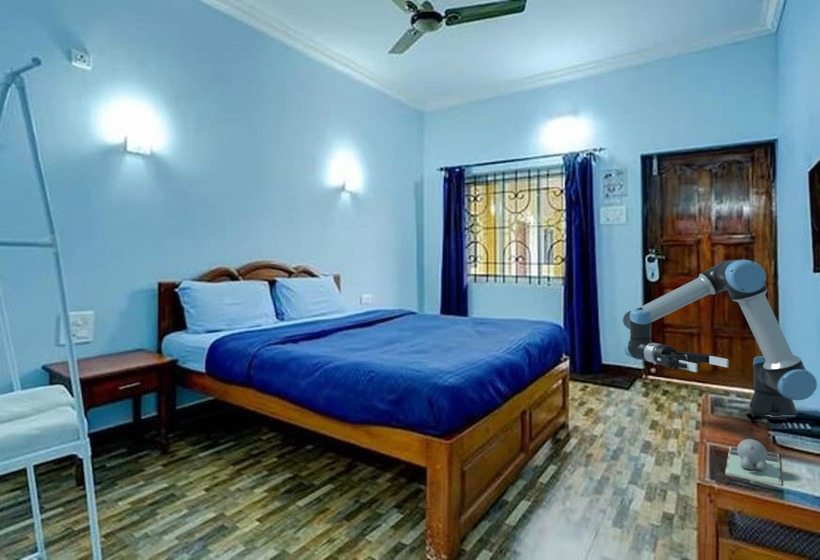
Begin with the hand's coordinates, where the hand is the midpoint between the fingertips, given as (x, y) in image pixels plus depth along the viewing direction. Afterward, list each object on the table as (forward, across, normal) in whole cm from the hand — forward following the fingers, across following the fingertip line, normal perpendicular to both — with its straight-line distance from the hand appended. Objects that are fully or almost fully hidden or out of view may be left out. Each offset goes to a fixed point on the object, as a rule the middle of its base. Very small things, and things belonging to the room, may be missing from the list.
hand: (712, 365), depth 158 cm
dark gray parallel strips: (+9, -5, -27) cm, 29 cm away
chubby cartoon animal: (+16, +4, -27) cm, 32 cm away
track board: (+14, +1, -28) cm, 31 cm away
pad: (+16, +4, -27) cm, 32 cm away
